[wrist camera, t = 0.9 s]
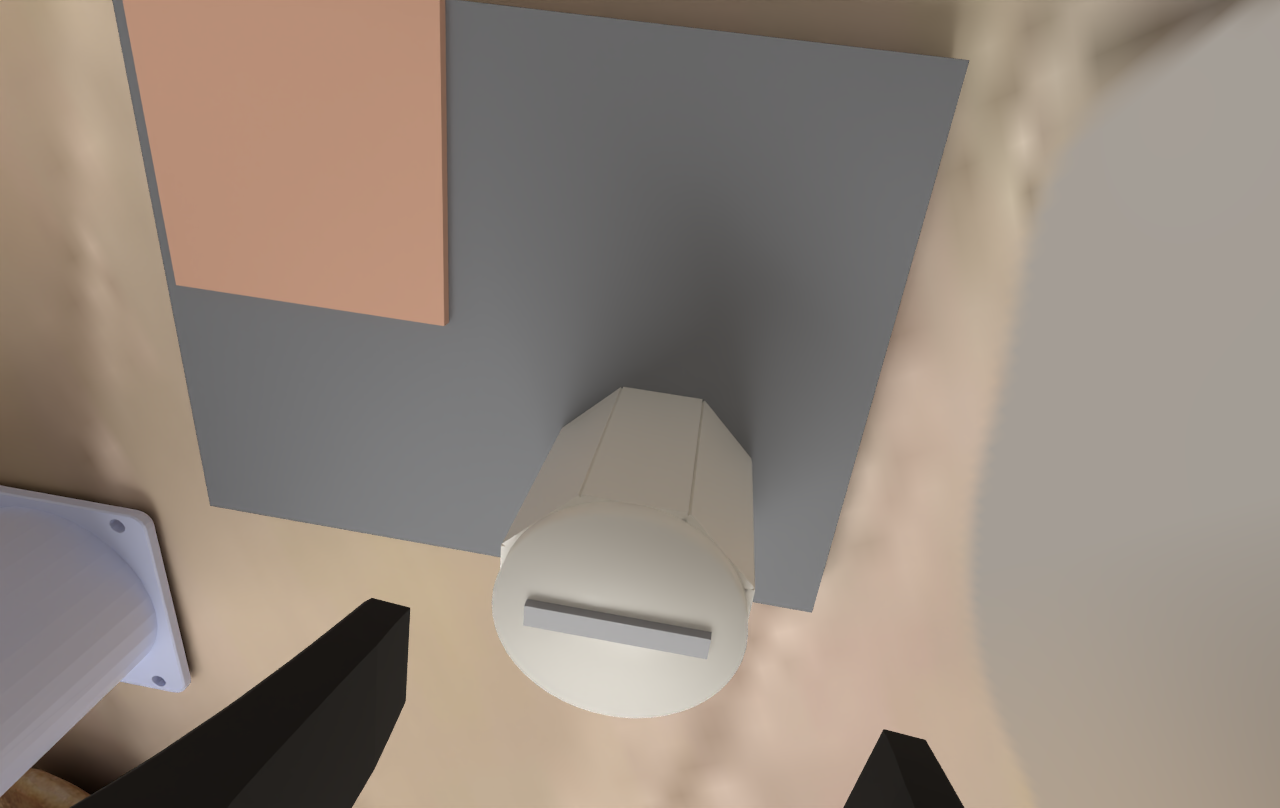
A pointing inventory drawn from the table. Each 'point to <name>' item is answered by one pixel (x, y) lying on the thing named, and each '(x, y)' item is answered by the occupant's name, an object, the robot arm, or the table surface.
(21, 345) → the table surface
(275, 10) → the terracotta pad
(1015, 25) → the table surface
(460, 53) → the base board
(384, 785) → the table surface
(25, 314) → the table surface
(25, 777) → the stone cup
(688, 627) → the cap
